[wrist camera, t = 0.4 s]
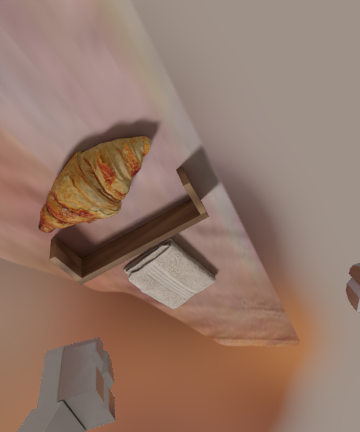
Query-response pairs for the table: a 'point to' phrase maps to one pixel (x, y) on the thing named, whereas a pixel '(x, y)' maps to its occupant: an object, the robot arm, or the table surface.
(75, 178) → the croissant
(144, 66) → the table surface
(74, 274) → the frame
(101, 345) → the robot arm
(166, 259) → the washcloth
